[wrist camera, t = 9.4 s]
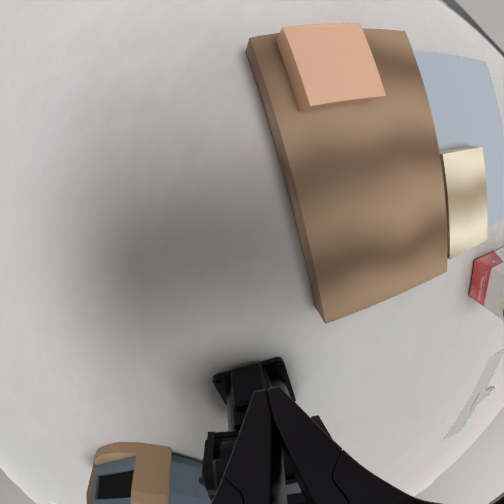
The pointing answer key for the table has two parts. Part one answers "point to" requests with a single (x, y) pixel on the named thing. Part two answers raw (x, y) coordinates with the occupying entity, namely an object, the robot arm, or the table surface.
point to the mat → (467, 115)
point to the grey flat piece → (476, 395)
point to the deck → (360, 179)
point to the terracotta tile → (329, 65)
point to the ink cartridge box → (489, 282)
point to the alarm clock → (144, 476)
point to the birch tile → (464, 198)
